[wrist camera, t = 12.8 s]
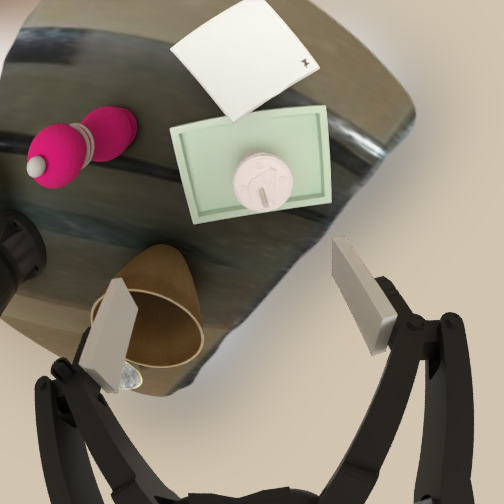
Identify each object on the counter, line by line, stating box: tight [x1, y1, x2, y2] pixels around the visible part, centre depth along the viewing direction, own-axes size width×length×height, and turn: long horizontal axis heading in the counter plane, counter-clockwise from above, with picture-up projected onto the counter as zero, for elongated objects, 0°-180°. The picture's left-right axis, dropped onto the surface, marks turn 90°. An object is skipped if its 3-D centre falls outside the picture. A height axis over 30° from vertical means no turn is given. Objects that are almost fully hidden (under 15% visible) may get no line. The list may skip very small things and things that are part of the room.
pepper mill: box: [27, 106, 137, 189], centre depth 23 cm, size 7×7×20 cm
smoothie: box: [232, 149, 293, 212], centre depth 30 cm, size 6×6×14 cm
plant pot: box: [90, 244, 204, 368], centre depth 38 cm, size 15×15×16 cm
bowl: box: [119, 360, 142, 389], centre depth 53 cm, size 16×16×8 cm
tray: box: [170, 105, 332, 225], centre depth 35 cm, size 20×14×2 cm
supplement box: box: [170, 0, 320, 124], centre depth 23 cm, size 9×9×15 cm
